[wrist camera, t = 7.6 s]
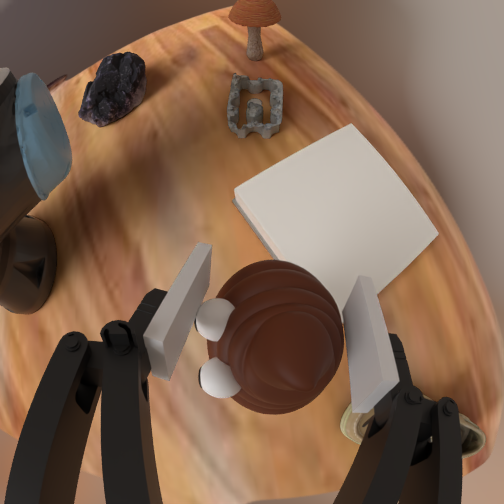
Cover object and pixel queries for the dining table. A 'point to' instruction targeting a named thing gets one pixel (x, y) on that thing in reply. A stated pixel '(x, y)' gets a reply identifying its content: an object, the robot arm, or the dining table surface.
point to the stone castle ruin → (255, 106)
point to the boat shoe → (470, 437)
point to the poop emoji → (270, 338)
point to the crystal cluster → (114, 89)
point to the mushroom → (254, 22)
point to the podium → (337, 213)
